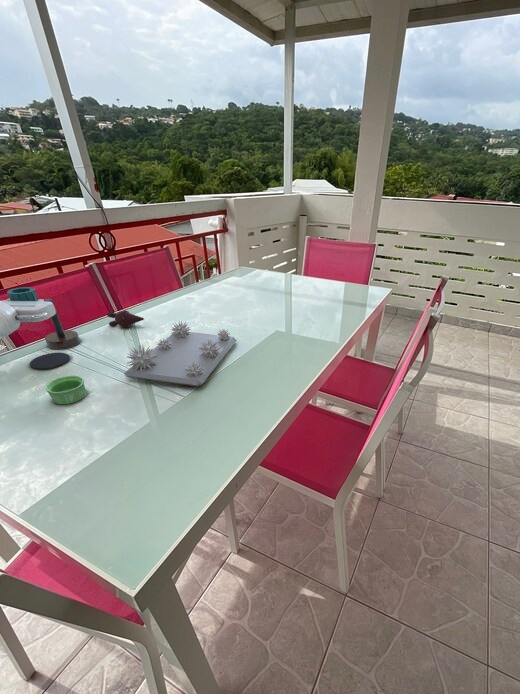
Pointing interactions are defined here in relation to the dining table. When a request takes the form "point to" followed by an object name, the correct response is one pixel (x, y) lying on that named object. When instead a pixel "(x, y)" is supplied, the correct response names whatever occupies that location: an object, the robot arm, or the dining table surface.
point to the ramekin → (66, 389)
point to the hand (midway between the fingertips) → (27, 301)
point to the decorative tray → (181, 357)
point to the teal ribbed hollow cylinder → (22, 294)
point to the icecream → (123, 319)
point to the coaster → (50, 361)
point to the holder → (61, 335)
